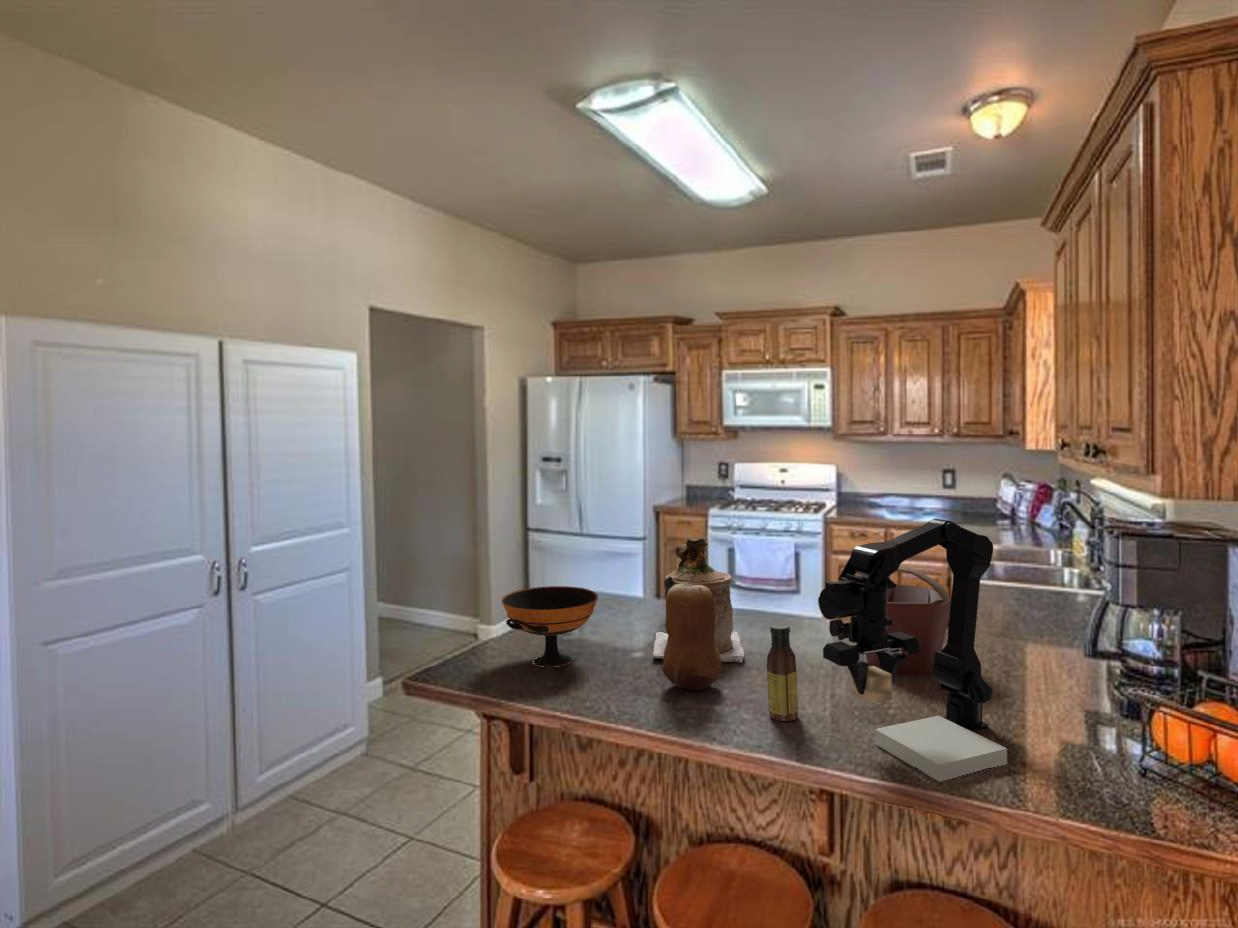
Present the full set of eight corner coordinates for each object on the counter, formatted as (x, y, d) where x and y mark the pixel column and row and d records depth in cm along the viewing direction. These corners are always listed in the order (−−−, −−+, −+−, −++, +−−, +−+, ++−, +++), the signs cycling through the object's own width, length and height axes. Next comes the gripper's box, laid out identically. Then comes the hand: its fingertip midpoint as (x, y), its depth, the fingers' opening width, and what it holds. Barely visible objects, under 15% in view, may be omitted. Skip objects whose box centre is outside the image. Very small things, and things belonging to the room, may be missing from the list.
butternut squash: (704, 674, 179) (703, 576, 178) (731, 692, 167) (730, 587, 165) (653, 682, 174) (652, 581, 173) (677, 702, 162) (676, 593, 160)
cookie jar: (739, 636, 210) (738, 529, 209) (746, 665, 186) (745, 543, 184) (655, 636, 213) (654, 529, 211) (651, 663, 188) (649, 543, 187)
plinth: (938, 729, 145) (938, 715, 145) (1006, 764, 130) (1007, 748, 130) (875, 743, 139) (875, 728, 139) (939, 781, 124) (939, 764, 124)
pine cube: (873, 690, 141) (873, 665, 141) (891, 699, 136) (891, 673, 136) (853, 694, 139) (852, 669, 139) (870, 703, 135) (870, 677, 134)
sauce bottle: (793, 710, 156) (793, 620, 155) (802, 722, 149) (801, 629, 148) (764, 711, 156) (763, 621, 154) (771, 723, 149) (770, 630, 148)
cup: (560, 692, 169) (558, 618, 168) (471, 678, 180) (469, 609, 179) (622, 647, 202) (621, 586, 201) (544, 638, 212) (543, 579, 211)
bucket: (835, 657, 190) (835, 564, 189) (894, 644, 200) (894, 556, 199) (910, 686, 168) (911, 582, 167) (972, 670, 178) (973, 571, 177)
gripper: (881, 597, 148) (882, 671, 149) (805, 608, 141) (806, 685, 142) (921, 610, 137) (922, 689, 138) (841, 622, 131) (842, 705, 132)
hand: (872, 691), depth 138 cm, fingers closed on pine cube, 5 cm apart
